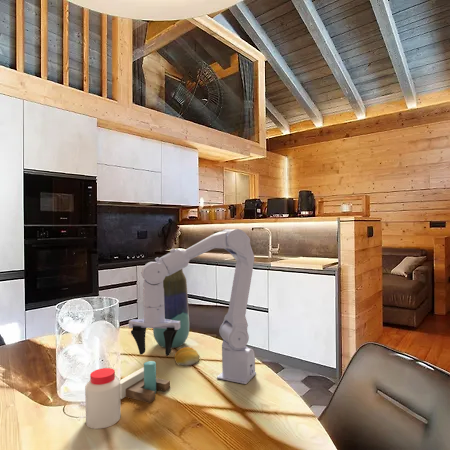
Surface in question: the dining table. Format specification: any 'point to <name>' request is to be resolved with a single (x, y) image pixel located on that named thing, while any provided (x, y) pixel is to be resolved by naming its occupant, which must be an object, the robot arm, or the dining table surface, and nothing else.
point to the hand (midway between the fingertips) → (155, 354)
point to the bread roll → (186, 356)
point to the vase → (175, 308)
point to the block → (143, 394)
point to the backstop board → (130, 381)
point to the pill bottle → (102, 399)
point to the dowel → (150, 376)
